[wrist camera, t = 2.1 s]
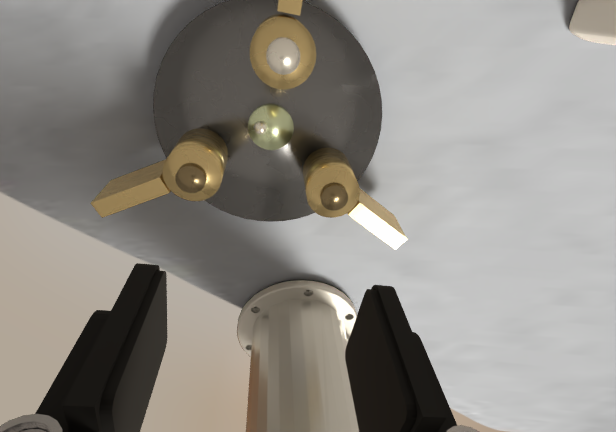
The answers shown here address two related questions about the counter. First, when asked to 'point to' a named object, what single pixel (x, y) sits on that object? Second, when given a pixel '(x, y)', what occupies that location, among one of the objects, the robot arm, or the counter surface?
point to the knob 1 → (171, 175)
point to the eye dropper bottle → (595, 21)
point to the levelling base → (267, 106)
